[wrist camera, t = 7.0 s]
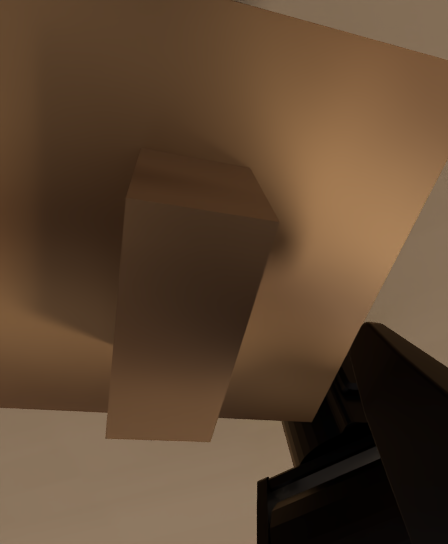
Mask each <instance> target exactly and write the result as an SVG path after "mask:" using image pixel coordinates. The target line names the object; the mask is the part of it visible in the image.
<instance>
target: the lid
mask: <svg viewBox="0 0 448 544" xmlns="http://www.w3.org/2000/svg"><path fill="white" fill-rule="evenodd" d="M447 159H448V60H445V59H441V58H438V57H434V56H430V55H427V54H423V53H420V52H416V51H412V50H409V49H405V48H402V47H398V46H394V45H391V44H387V43H384V42H380V41H376V40H373V39H369V38H366V37H362V36H358V35H355V34H351V33H348V32H344V31H340V30H337V29H333V28H330V27H326V26H322V25H319V24H315V23H312V22H308V21H304V20H301V19H297V18H294V17H290V16H286V15H283V14H279V13H276V12H272V11H268V10H265V9H261V8H258V7H254V6H250V5H247V4H243V3H239V2H236V1H232V0H0V408H20V409H41V410H62V411H84V412H105V413H108V415H107V426H106V438H105V439H135V440H165V441H195V442H211V438H212V435H213V432H214V429H215V426H216V423H217V419H218V418H234V419H255V420H276V421H298V422H312V421H313V419H314V417H315V415H316V413H317V411H318V409H319V407H320V405H321V403H322V401H323V399H324V398H325V396H326V394H327V392H328V390H329V388H330V386H331V384H332V382H333V380H334V378H335V376H336V374H337V372H338V370H339V368H340V367H341V365H342V363H343V361H344V359H345V357H346V355H347V353H348V351H349V349H350V347H351V345H352V343H353V341H354V339H355V337H356V335H357V333H358V331H359V329H360V327H361V326H362V324H363V322H364V320H365V318H366V316H367V314H368V312H369V310H370V308H371V306H372V305H373V303H374V301H375V299H376V297H377V295H378V293H379V291H380V289H381V287H382V285H383V283H384V281H385V279H386V277H387V276H388V274H389V272H390V270H391V268H392V266H393V264H394V262H395V260H396V258H397V256H398V254H399V252H400V250H401V248H402V246H403V245H404V243H405V241H406V239H407V237H408V235H409V233H410V231H411V229H412V227H413V225H414V223H415V221H416V219H417V217H418V215H419V214H420V212H421V210H422V208H423V206H424V204H425V202H426V200H427V198H428V196H429V194H430V192H431V190H432V188H433V186H434V184H435V183H436V181H437V179H438V177H439V175H440V173H441V171H442V169H443V167H444V165H445V163H446V161H447Z"/></svg>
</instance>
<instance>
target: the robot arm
mask: <svg viewBox="0 0 448 544" xmlns="http://www.w3.org/2000/svg"><path fill="white" fill-rule="evenodd" d="M282 425H283V429H284V432H285V436H286V440H287V443H288V447H289V451H290V454H291V458H292V462H293V466H294V468H291V469H289V470H287V471H285V472H282V473H280V474H278V475H276V476H274V477H271V478H269V477H266V478H264V479H262V480H260V481H258V482H257V544H448V367H446V366H445V365H443V364H442V363H440V362H439V361H437V360H436V359H434V358H433V357H431V356H430V355H428V354H427V353H425V352H424V351H422V350H421V349H419V348H418V347H416V346H415V345H413V344H412V343H410V342H409V341H407V340H406V339H404V338H403V337H401V336H400V335H398V334H397V333H395V332H394V331H392V330H391V329H389V328H388V327H386V326H385V325H383V324H381V323H374V322H365V323H364V324H362V326H361V327H360V329H359V331H358V333H357V335H356V337H355V339H354V341H353V343H352V345H351V347H350V349H349V351H348V353H347V355H346V357H345V359H344V361H343V363H342V365H341V367H340V368H339V370H338V372H337V374H336V376H335V378H334V380H333V382H332V384H331V386H330V388H329V390H328V392H327V394H326V396H325V398H324V399H323V401H322V403H321V405H320V407H319V409H318V411H317V413H316V415H315V417H314V419H313V421H312V422H298V421H282Z"/></svg>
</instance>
